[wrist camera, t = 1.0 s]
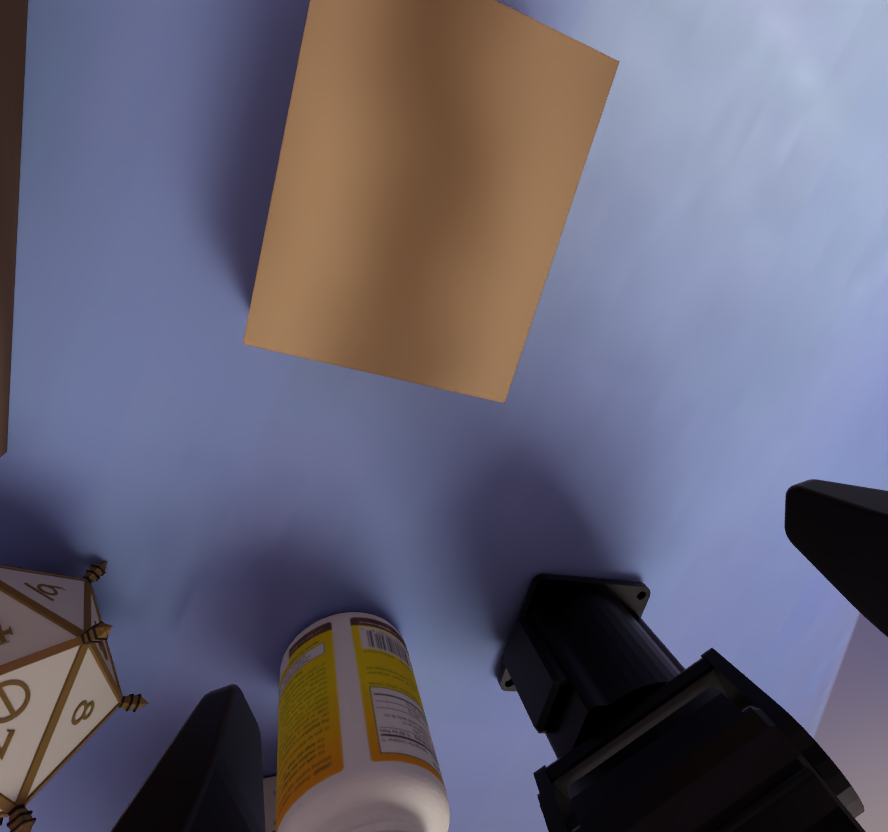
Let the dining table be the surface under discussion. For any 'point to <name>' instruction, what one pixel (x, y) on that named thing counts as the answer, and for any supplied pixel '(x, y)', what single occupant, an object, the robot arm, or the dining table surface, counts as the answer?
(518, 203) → the oak block
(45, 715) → the game die
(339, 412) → the dining table surface
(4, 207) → the walnut board
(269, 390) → the dining table surface
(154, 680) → the dining table surface
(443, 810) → the supplement bottle
